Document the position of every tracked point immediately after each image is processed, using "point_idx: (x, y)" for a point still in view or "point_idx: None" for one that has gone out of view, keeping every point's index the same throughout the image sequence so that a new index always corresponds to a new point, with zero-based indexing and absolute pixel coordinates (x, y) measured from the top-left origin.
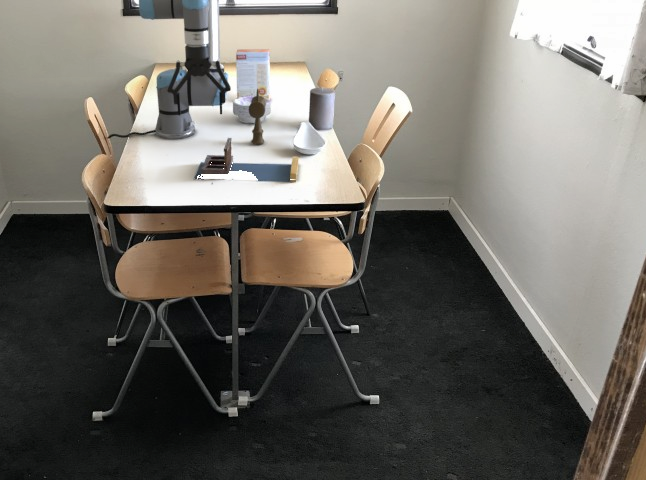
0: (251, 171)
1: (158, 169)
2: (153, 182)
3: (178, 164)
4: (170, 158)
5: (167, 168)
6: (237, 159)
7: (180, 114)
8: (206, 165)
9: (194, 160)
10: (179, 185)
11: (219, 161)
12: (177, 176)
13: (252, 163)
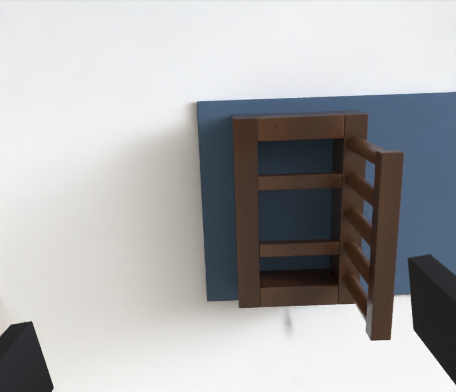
0: (443, 194)
1: (25, 201)
2: (56, 334)
3: (95, 130)
4: (29, 51)
5: (60, 185)
6: (369, 30)
7: (48, 376)
8: (254, 258)
9: (157, 67)
10: (165, 350)
11: (305, 187)
12: (132, 268)
13: (448, 93)
